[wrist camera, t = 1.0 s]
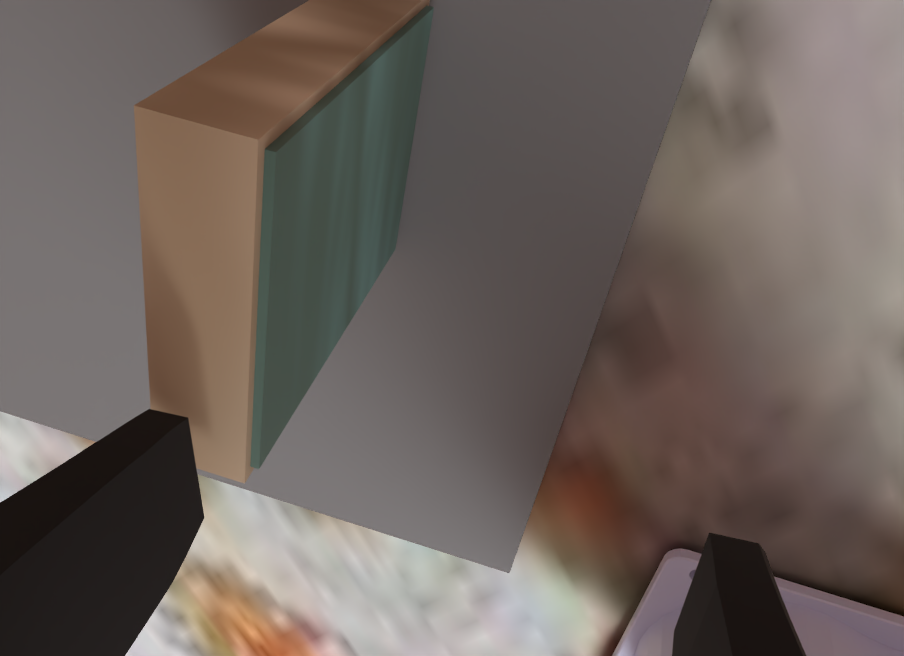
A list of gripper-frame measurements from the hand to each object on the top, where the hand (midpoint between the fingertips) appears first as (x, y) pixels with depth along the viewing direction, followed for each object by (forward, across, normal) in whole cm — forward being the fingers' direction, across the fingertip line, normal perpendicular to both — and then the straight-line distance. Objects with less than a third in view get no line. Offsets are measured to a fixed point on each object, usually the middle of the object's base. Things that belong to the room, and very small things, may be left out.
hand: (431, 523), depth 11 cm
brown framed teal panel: (+9, +4, -2) cm, 10 cm away
